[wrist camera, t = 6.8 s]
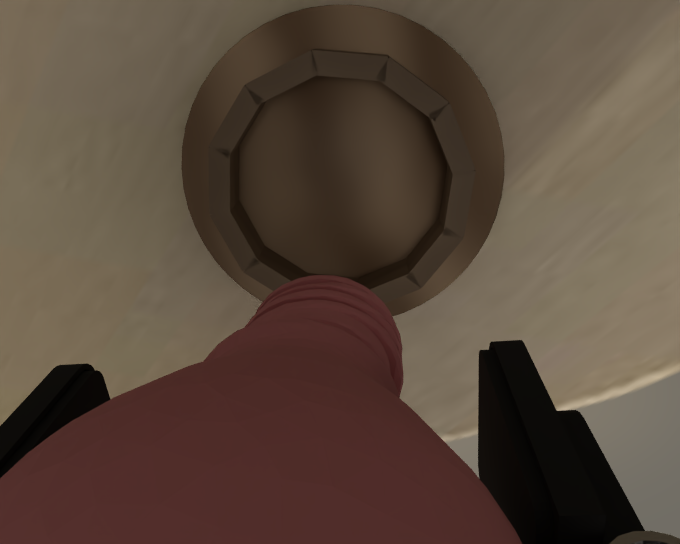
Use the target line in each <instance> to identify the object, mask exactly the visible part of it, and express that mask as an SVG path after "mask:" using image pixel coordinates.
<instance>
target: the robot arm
mask: <svg viewBox="0 0 680 544" xmlns="http://www.w3.org/2000/svg"><path fill="white" fill-rule="evenodd" d="M109 400H110V397H109V394H108V390H107V387H106V384H105V381H104V378H103V375H102V374H101V372H100V371H95V370H94V368H93V367H92V366H91V365H89V364H72V365H59V366H56V367H55V368H54V369H53V370H52V371H51V372H50V373H49V374H48V375H47V376H46V377H45V378H44V380H43V381H42V382H41V383H40V384H39V385H38V386H37V387H36V388H35V389H34V390H33V391H32V393H31V394H30V395H29V396H28V397H27V398H26V399H25V400H24V401H23V402H22V403H21V404H20V405H19V407H18V408H17V409H16V410H15V411H14V412H13V413H12V414H11V415H10V416H9V417H8V418H7V420H6V421H5V422H4V423H3V424H2V425H1V426H0V478H1V477H2V476H3V475H4V474H5V473H7V472H8V471H9V470H10V469H11V468H12V467H13V466H14V465H15V464H16V463H17V462H18V461H20V460H21V459H22V458H23V457H24V456H25V455H26V454H27V453H28V452H30V451H31V450H32V449H34V448H35V447H36V446H37V445H39V444H40V443H41V442H43V441H44V440H45V439H47V438H48V437H49V436H51V435H52V434H54V433H55V432H56V431H58V430H59V429H61V428H62V427H64V426H65V425H67V424H68V423H70V422H71V421H73V420H74V419H76V418H78V417H80V416H82V415H83V414H85V413H87V412H89V411H91V410H93V409H94V408H96V407H98V406H100V405H102V404H103V403H105V402H107V401H109ZM478 468H479V477H480V480H481V481H482V483H483V484H484V485H485V486H486V488H487V489H488V490H489V492H490V493H491V495H492V496H493V498H494V499H495V501H496V502H497V504H498V505H499V507H500V508H501V510H502V511H503V513H504V514H505V516H506V517H507V519H508V520H509V522H510V523H511V525H512V526H513V528H514V529H515V531H516V533H517V534H518V536H519V538H520V540H521V542H522V544H680V539H679V538H677V537H674V536H672V535H668V534H664V533H659V532H654V531H645V530H644V529H643V526H642V525H641V523H640V521H639V519H638V517H637V515H636V514H635V512H634V510H633V508H632V506H631V504H630V503H629V501H628V499H627V497H626V495H625V493H624V491H623V489H622V488H621V486H620V484H619V482H618V480H617V479H616V477H615V475H614V473H613V471H612V470H611V468H610V465H609V464H608V462H607V460H606V458H605V456H604V454H603V453H602V451H601V449H600V447H599V445H598V443H597V442H596V440H595V438H594V436H593V434H592V433H591V431H590V429H589V427H588V425H587V423H586V421H585V419H584V418H583V417H582V415H581V414H580V412H578V411H576V410H568V411H556V409H555V407H554V405H553V402H552V400H551V398H550V396H549V394H548V392H547V390H546V388H545V386H544V384H543V382H542V380H541V378H540V375H539V373H538V371H537V369H536V367H535V365H534V363H533V361H532V359H531V357H530V355H529V353H528V350H527V348H526V346H525V344H524V343H523V341H522V340H515V341H496V342H491V343H490V346H489V350H480V351H479V415H478Z"/></svg>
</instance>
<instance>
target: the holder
mask: <svg viewBox="0 0 680 544" xmlns="http://www.w3.org/2000/svg"><path fill="white" fill-rule="evenodd" d="M182 176H183V186H184V192H185V196H186V200H187V205H188V209H189V211H190V214H191V217H192V219H193V222H194V225H195V227H196V229H197V231H198V233H199V235H200V237H201V239H202V241H203V243H204V245H205V246H206V248H207V249H208V250H209V252H210V253H211V255H212V256H213V258H214V259H215V261H216V262H217V263H218V264H219V265H220V266H221V267H222V269H223V270H224V271H225V272H226V273H227V274H228V275H229V276H230V277H231V278H232V279H233V280H234V281H235V282H237V283H238V284H239V285H240V286H241V287H242V288H243V289H245V290H246V291H248V292H249V293H250V294H252V295H253V296H255V297H256V298H258V299H259V300H261V301H263V302H264V300H265V299H266V298H267V297H268V295H269V294H270V293H272V292H273V291H275V290H276V289H277V288H279V287H280V286H281V285H284V284H286V283H288V282H291V281H293V280H296V279H298V278H302V277H307V276H313V275H335V276H339V277H344V278H348V279H350V280H353V281H355V282H357V283H359V284H361V285H363V286H365V287H366V288H368V289H369V290H371V291H372V292H373V293H374V294H375V295H376V296H378V297H379V298H380V299H381V300H382V301H383V302H384V304H385V305H386V306H387V308H388V309H389V311H390V313H391V315H392V316H395V315H398V314H401V313H404V312H406V311H408V310H410V309H413V308H415V307H417V306H419V305H421V304H423V303H424V302H426V301H428V300H429V299H431V298H433V297H434V296H436V295H437V294H439V293H440V292H441V291H442V290H444V289H445V288H446V287H448V286H449V285H450V284H451V283H453V282H454V281H455V279H456V278H457V277H458V276H459V275H460V274H461V273H462V272H463V271H464V270H465V269H466V268H467V267H468V266H469V264H470V263H471V262H472V260H473V259H474V258H475V256H476V255H477V254H478V252H479V251H480V249H481V247H482V245H483V244H484V242H485V240H486V238H487V237H488V235H489V232H490V230H491V228H492V225H493V223H494V220H495V218H496V215H497V211H498V208H499V204H500V200H501V196H502V189H503V181H504V150H503V143H502V136H501V131H500V127H499V124H498V120H497V117H496V113H495V111H494V108H493V106H492V104H491V102H490V99H489V97H488V95H487V92H486V91H485V89H484V87H483V86H482V84H481V83H480V81H479V79H478V78H477V76H476V74H475V73H474V72H473V70H472V69H471V68H470V67H469V66H468V64H467V63H466V62H465V61H464V60H463V58H462V57H461V56H460V55H459V54H458V53H457V52H456V51H455V50H454V49H453V48H451V47H450V46H449V45H448V44H447V43H446V42H445V41H444V40H443V39H441V38H440V37H438V36H437V35H435V34H434V33H432V32H431V31H429V30H428V29H426V28H425V27H423V26H421V25H419V24H417V23H415V22H413V21H411V20H409V19H407V18H405V17H403V16H400V15H397V14H394V13H390V12H387V11H384V10H381V9H376V8H370V7H364V6H358V5H326V6H319V7H311V8H306V9H303V10H299V11H296V12H292V13H289V14H285V15H283V16H281V17H279V18H276V19H274V20H272V21H270V22H268V23H265V24H263V25H262V26H260V27H259V28H257V29H256V30H254V31H252V32H251V33H249V34H248V35H246V36H245V37H244V38H242V39H241V40H240V41H239V42H238V43H237V44H235V45H234V46H233V47H232V48H231V49H230V50H228V51H227V53H226V54H225V55H224V56H223V57H222V58H221V59H220V61H219V62H218V63H217V64H216V65H215V66H214V68H213V69H212V70H211V72H210V74H209V75H208V77H207V78H206V80H205V81H204V83H203V84H202V86H201V88H200V90H199V92H198V94H197V96H196V99H195V101H194V103H193V105H192V108H191V111H190V114H189V117H188V121H187V124H186V128H185V134H184V140H183V146H182Z"/></svg>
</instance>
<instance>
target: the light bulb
mask: <svg viewBox="0 0 680 544" xmlns="http://www.w3.org/2000/svg"><path fill="white" fill-rule="evenodd" d="M402 385H403V366H402V344H401V338H400V333H399V331H398V329H397V327H396V324H395V322H394V320H393V317H392V315H391V313H390V311H389V309H388V308H387V306H386V305H385V304H384V302H383V301H382V300H381V299H380V298H379V297H378V296H376V295H375V294H374V293H373V292H372V291H371V290H369V289H368V288H366V287H365V286H363V285H361V284H359V283H357V282H355V281H353V280H350V279H348V278H344V277H339V276H335V275H313V276H307V277H302V278H298V279H296V280H293V281H291V282H288V283H286V284H284V285H281V286H280V287H279V288H277V289H276V290H275V291H273V292H272V293H270V294H269V295H268V297H267V298H266V299H265V300H264V302H263V303H262V304H261V305H260V307H259V308H258V310H257V312H256V314H255V315H254V316H253V317H252V318H251V320H250V321H249V322H248V324H247V325H246V326H245V328H243V329H240V330H238V331H236V332H235V333H233V334H232V335H230V336H229V337H228V338H226V339H225V340H223V341H222V342H221V343H219V344H218V345H217V346H216V347H215V349H214V350H213V351H212V352H211V353H210V354H209V355H208V357H207V358H206V359H205V360H204V362H200V363H197V364H194V365H191V366H188V367H185V368H183V369H180V370H178V371H176V372H173V373H171V374H169V375H166V376H164V377H161V378H159V379H157V380H154V381H152V382H150V383H147V384H145V385H143V386H140V387H138V388H135V389H133V390H131V391H128V392H126V393H124V394H121V395H119V396H117V397H114V398H112V399H111V400H109V401H107V402H105V403H103V404H102V405H100V406H98V407H96V408H94V409H93V410H91V411H89V412H87V413H85V414H83V415H82V416H80V417H78V418H76V419H74V420H73V421H71V422H70V423H68V424H67V425H65V426H64V427H62V428H61V429H59V430H58V431H56V432H55V433H54V434H52V435H51V436H49V437H48V438H47V439H45V440H44V441H43V442H41V443H40V444H39V445H37V446H36V447H35V448H34V449H32V450H31V451H30V452H28V453H27V454H26V455H25V456H24V457H23V458H22V459H21V460H20V461H18V462H17V463H16V464H15V465H14V466H13V467H12V468H11V469H10V470H9V471H8V472H7V473H5V474H4V475H3V476H2V477H1V478H0V544H522V542H521V540H520V538H519V536H518V534H517V533H516V531H515V529H514V528H513V526H512V525H511V523H510V522H509V520H508V519H507V517H506V516H505V514H504V513H503V511H502V510H501V508H500V507H499V505H498V504H497V502H496V501H495V499H494V498H493V496H492V495H491V493H490V492H489V490H488V489H487V488H486V486H485V485H484V484H483V483H482V481H481V480H480V479H479V478H478V477H477V475H476V474H475V473H474V472H473V471H472V469H471V468H470V467H469V466H468V465H467V464H466V463H465V462H464V461H463V460H462V459H461V458H460V457H459V456H458V455H457V454H456V453H455V452H454V451H453V450H452V449H451V448H450V447H449V446H448V445H447V444H446V443H445V442H444V441H443V440H442V439H441V438H440V437H439V436H438V435H437V434H436V433H435V432H434V431H433V430H432V429H431V428H430V427H429V426H428V425H427V424H426V423H425V422H424V421H423V420H422V419H421V418H420V417H419V416H418V415H417V414H416V413H415V412H414V411H413V410H412V409H411V408H410V407H409V406H408V405H407V404H405V403H404V402H403V401H402V400H401V399H400V398H399V397H400V393H401V389H402Z"/></svg>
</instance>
